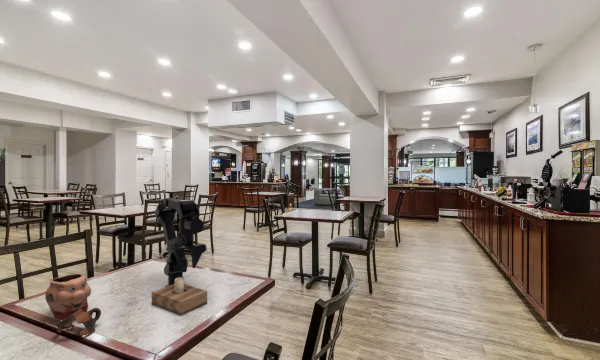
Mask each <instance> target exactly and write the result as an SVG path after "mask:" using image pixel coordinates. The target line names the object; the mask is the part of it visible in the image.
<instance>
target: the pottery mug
mask: <svg viewBox="0 0 600 360" xmlns="http://www.w3.org/2000/svg"><path fill="white" fill-rule="evenodd" d="M94 313H95V315H94V317H93V314H94ZM101 315H102V311H101V308H98V307H93V308H91V309H89V310H87V312H83V311H82V309H80V310H78V311H77V312H75V313H73V314H72V315H70V316H69V317H68V318H66V319H64V320H62V321H59V322H57V324H55V326H56V327H57V330H56V332H57V333H59V334H61V333H62V331H63V330H67V329H68V328H70V327H73V328H74V327H75V326H74V324H73V322H74V321H76V323H77V324H82V325H83V326H84V327H85V328H83V329H82V330H81V331H79V335H80V336H83V335H87V334H89V335H90V334H92V333H93V332H95V331H96V323H97V322H98V321H99V320H100V317H101Z"/></svg>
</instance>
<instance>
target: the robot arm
mask: <svg viewBox="0 0 600 360" xmlns="http://www.w3.org/2000/svg"><path fill="white" fill-rule="evenodd" d="M154 211H155V212H154V216H155V218H156V220H157V223H158V224H159V225H161V227H162V229H163V234H164V238H165V239H164V240H165V244H166V247H167V252H168V254H167V255H168V256H167V258H166V264H165V266H164V268H163V273H164V275H165V276H166V277H167V284H166V285H165V286H164V287H167V286H170V285H173V284H175V279H176V278H179V277H183V278H184V276H183V275H184V273H187V271H188V264H189V263H188V259H187V257H186V253H185V249H187V250H188V251H189V252H188V254H189V256H191V267H192V269H195V268H196V267H197V265H198V263H199V260H200V258H201V256H202V255H203V254H204V253H205V252H207V245H206V244H205V243H200V242H199V243H197V240H194V239H195V235H196V234H199V233H200V232H202V231H203V229H204V227H205V224H204V221H203V220H202V219H201V218H200V216H201V214H200V213H201V212H200V209H199V207H198V205H197V202H196V201H195V200H194V199H193V200H191V199H190V200H180V199H178V198H175V197H168V198H167V197H166V198H164V199H163V200H162V202H161V203H159V204H158V205H157V206H156V208H155V210H154ZM176 213H177V214H178V219H179V231H178V232H177V233H176V231H175V230H176V228H175V226H174V220H175V218H176ZM184 284H185V285H187V283H184Z"/></svg>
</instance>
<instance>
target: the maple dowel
mask: <svg viewBox="0 0 600 360" xmlns="http://www.w3.org/2000/svg"><path fill="white" fill-rule="evenodd" d="M184 284H185V278H184V276H183V277H179V278H176V279H175V294H181V293H184Z"/></svg>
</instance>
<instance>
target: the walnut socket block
mask: <svg viewBox="0 0 600 360" xmlns="http://www.w3.org/2000/svg"><path fill="white" fill-rule="evenodd" d="M185 284H186V283H184V293H181V294H175V284H173V285H170V286H167V287H165V286H164V287H162V288H159V289H156V290H154V291H153V290H152V291H151V305H152V306H155V307H157V308H160V309H162V310H164V311H167V312H169V313H170V312H171V313H173V314H176V315H178V316H183V315H186V314H188V313H190V312H192V311H194V310H196V309H199V308H201V307H203V306H205V305H207V304H208V290H205V289H202V288H198V287H195V286H191V285H188V284H186V285H185Z"/></svg>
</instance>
